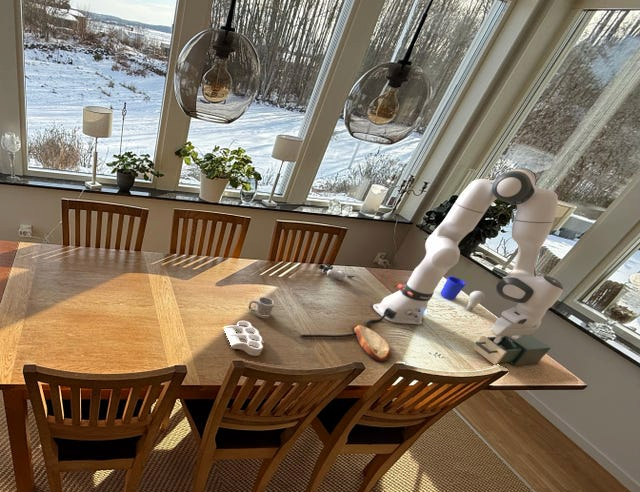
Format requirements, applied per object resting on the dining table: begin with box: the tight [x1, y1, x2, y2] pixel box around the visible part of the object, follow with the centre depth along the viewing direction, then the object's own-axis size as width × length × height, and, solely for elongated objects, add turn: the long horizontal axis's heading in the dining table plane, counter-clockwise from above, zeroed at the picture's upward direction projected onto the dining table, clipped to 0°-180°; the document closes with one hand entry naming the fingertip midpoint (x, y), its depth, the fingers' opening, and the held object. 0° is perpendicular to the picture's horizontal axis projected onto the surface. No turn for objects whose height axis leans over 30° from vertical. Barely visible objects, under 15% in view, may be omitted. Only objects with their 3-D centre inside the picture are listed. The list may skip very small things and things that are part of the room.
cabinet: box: [505, 334, 551, 366], centre depth 169 cm, size 14×12×9 cm
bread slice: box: [354, 324, 391, 362], centre depth 163 cm, size 18×18×4 cm
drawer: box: [473, 335, 524, 366], centre depth 165 cm, size 17×10×7 cm, turn 104°
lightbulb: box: [465, 290, 486, 311], centre depth 198 cm, size 6×6×11 cm
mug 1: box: [247, 296, 275, 319], centre depth 172 cm, size 10×7×7 cm
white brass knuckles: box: [222, 320, 266, 357], centre depth 155 cm, size 3×18×15 cm
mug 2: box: [440, 275, 467, 300], centre depth 209 cm, size 8×12×10 cm
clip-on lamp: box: [318, 263, 356, 281], centre depth 212 cm, size 12×6×18 cm
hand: (503, 342), depth 164 cm, fingers open, 7 cm apart
